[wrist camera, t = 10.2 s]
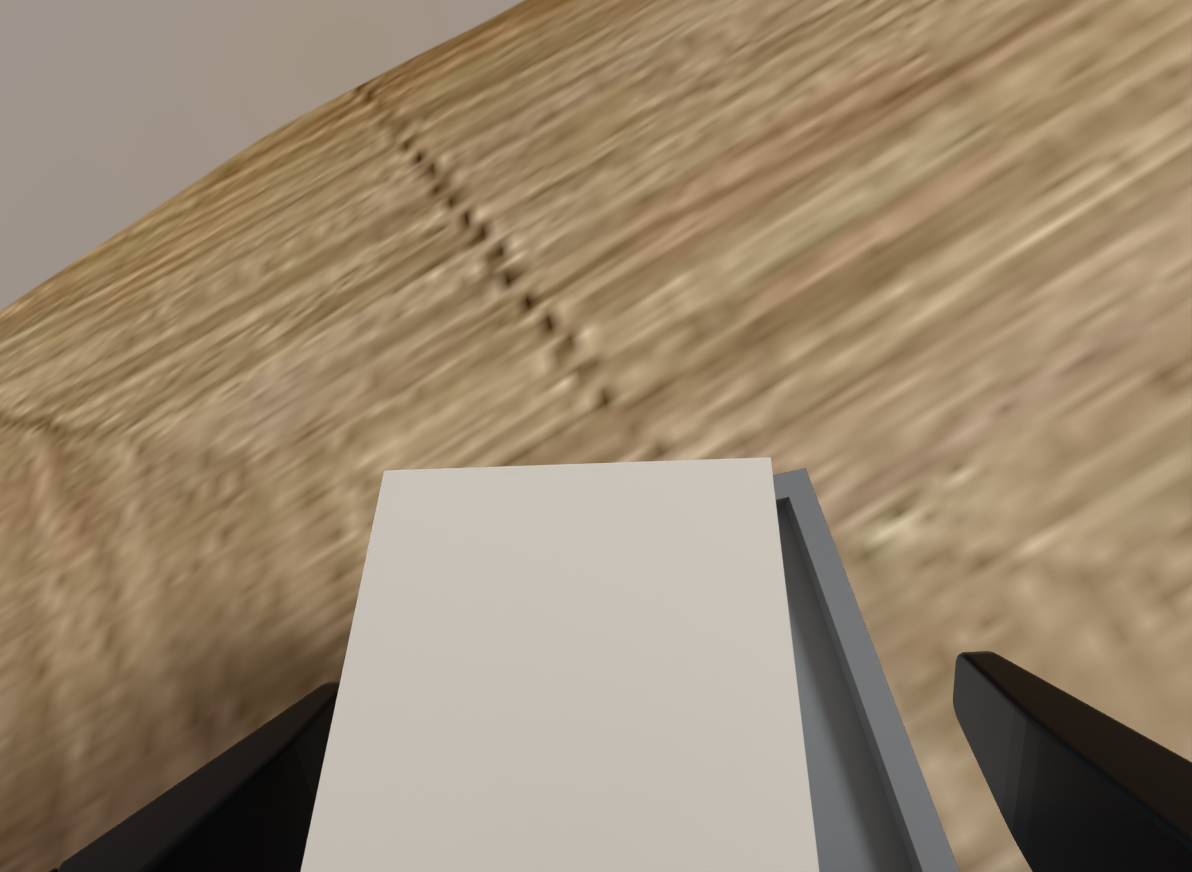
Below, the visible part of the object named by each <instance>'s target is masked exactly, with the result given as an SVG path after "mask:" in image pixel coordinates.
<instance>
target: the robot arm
mask: <svg viewBox="0 0 1192 872" xmlns="http://www.w3.org/2000/svg"><path fill="white" fill-rule="evenodd" d="M339 685H340V682H328V683H325V684H323V685H322V686H320V687H319V688H317V689H316V690H314V691H313V692H311V693H310V694H308V695H307V696H305V697H304V698H303V699H301V700H300V701H298V702H297V703H295V704H294V705H292V706H291V707H289V708H288V709H286V710H285V711H284V712H282V713H281V714H279V715H278V716H276V717H275V718H273V719H272V720H270V721H269V722H267V723H266V724H264V725H263V726H262V727H260V728H259V729H257V730H256V731H254V732H253V733H251V734H250V735H248V736H247V737H245V738H244V739H243V740H241V741H240V742H238V743H237V744H235V745H234V746H232V747H231V748H229V749H228V750H226V751H225V752H224V753H222V754H221V755H219V756H218V757H216V758H215V759H213V760H212V761H210V762H209V763H207V764H206V765H205V766H203V767H202V768H200V769H199V770H197V771H196V772H194V773H193V774H191V775H190V776H188V777H187V778H186V779H184V780H183V781H181V782H180V783H178V784H177V785H175V786H174V787H172V788H171V789H169V790H168V791H167V792H165V793H164V794H162V795H161V796H159V797H158V798H156V799H155V800H153V801H152V802H150V803H149V804H148V805H146V806H145V807H143V808H142V809H140V810H139V811H137V812H136V813H134V814H133V815H131V816H130V817H128V818H127V819H126V820H124V821H123V822H121V823H120V824H118V825H117V826H115V827H114V828H112V829H111V830H109V831H108V832H107V833H105V834H104V835H102V836H101V837H99V838H98V839H96V840H95V841H93V842H92V843H90V844H89V845H88V846H86V847H85V848H83V849H82V850H80V851H79V852H77V853H76V854H74V855H73V856H71V857H70V858H69V859H67V860H66V861H64V862H63V863H62V864H61V865H60V867H59V868H54V869H52V870H51V871H49V872H301V867H302V862H303V857H304V853H305V848H306V843H307V838H308V833H309V829H310V824H311V819H312V814H313V809H314V805H315V800H316V795H317V790H318V786H319V781H320V776H321V771H322V766H323V762H324V757H325V752H326V747H327V742H328V738H329V733H330V728H331V723H332V719H333V714H334V709H335V704H336V699H337V695H338V690H339ZM953 705H954V710H955V713H956V716H957V719H958V721H959V723H960V725H961V728H962V730H963V732H964V734H965V736H966V738H967V740H968V743H969V745H970V747H971V749H972V751H973V753H974V756H975V758H976V760H977V762H978V764H979V766H980V768H981V771H982V773H983V775H984V777H985V779H986V781H987V784H988V786H989V788H990V790H991V792H992V794H993V796H994V799H995V801H996V803H997V805H998V807H999V809H1000V812H1001V814H1002V816H1003V818H1004V820H1005V822H1006V824H1007V826H1008V828H1009V830H1010V832H1011V834H1012V836H1013V838H1014V840H1015V841H1016V843H1017V845H1018V847H1019V849H1020V850H1021V852H1022V854H1023V856H1024V857H1025V859H1026V861H1027V863H1028V864H1029V866H1030V868H1031V870H1032V871H1033V872H1192V762H1190V761H1188V760H1187V759H1185V758H1183V757H1181V756H1179V755H1178V754H1176V753H1174V752H1172V751H1170V750H1169V749H1167V748H1165V747H1163V746H1161V745H1160V744H1158V743H1156V742H1154V741H1152V740H1151V739H1149V738H1147V737H1145V736H1143V735H1142V734H1140V733H1138V732H1136V731H1134V730H1133V729H1131V728H1129V727H1127V726H1125V725H1124V724H1122V723H1120V722H1118V721H1116V720H1115V719H1113V718H1111V717H1109V716H1107V715H1106V714H1104V713H1102V712H1100V711H1098V710H1097V709H1095V708H1093V707H1091V706H1089V705H1088V704H1086V703H1084V702H1082V701H1080V700H1079V699H1077V698H1075V697H1073V696H1071V695H1070V694H1068V693H1066V692H1064V691H1062V690H1061V689H1059V688H1057V687H1055V686H1053V685H1052V684H1050V683H1048V682H1046V681H1044V680H1043V679H1041V678H1039V677H1037V676H1035V675H1034V674H1032V673H1030V672H1028V671H1026V670H1025V669H1023V668H1021V667H1019V666H1017V665H1016V664H1014V663H1012V662H1010V661H1008V660H1007V659H1005V658H1003V657H1001V656H999V655H998V654H995V653H993V652H990V651H979V652H963V653H961V654H959V655H958V657H957V659H956V666H955V679H954V692H953Z"/></svg>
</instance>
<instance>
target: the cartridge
mask: <svg viewBox="0 0 1192 872" xmlns="http://www.w3.org/2000/svg"><path fill="white" fill-rule="evenodd" d="M301 872H819V864H818V856H817V847H816V839H815V830H814V822H813V813H812V805H811V796H810V788H809V779H808V771H807V762H806V754H805V745H804V737H803V729H802V720H801V712H800V703H799V695H798V686H797V678H796V669H795V661H794V652H793V644H792V635H791V627H790V618H789V610H788V601H787V593H786V584H785V576H784V568H783V559H782V551H781V542H780V534H779V525H778V517H777V508H776V500H775V491H774V483H773V474H772V466H771V457H768V458H739V459H710V460H681V461H652V462H623V463H593V464H564V465H535V466H506V467H477V468H448V469H419V470H390V471H384V474H383V479H382V484H381V489H380V493H379V498H378V503H377V508H376V513H375V517H374V522H373V527H372V532H371V537H370V541H369V546H368V551H367V556H366V561H365V565H364V570H363V575H362V580H361V584H360V589H359V594H358V599H357V604H356V608H355V613H354V618H353V623H352V628H351V632H350V637H349V642H348V647H347V651H346V656H345V661H344V666H343V671H342V675H341V680H340V685H339V690H338V695H337V699H336V704H335V709H334V714H333V719H332V723H331V728H330V733H329V738H328V742H327V747H326V752H325V757H324V762H323V766H322V771H321V776H320V781H319V786H318V790H317V795H316V800H315V805H314V809H313V814H312V819H311V824H310V829H309V833H308V838H307V843H306V848H305V853H304V857H303V862H302V867H301Z"/></svg>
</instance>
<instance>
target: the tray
mask: <svg viewBox="0 0 1192 872" xmlns="http://www.w3.org/2000/svg"><path fill="white" fill-rule="evenodd" d="M773 483H774V491H775V500H776V508H777V517H778V525H779V534H780V542H781V551H782V559H783V568H784V576H785V584H786V593H787V601H788V610H789V618H790V627H791V635H792V644H793V652H794V661H795V669H796V678H797V686H798V695H799V703H800V712H801V720H802V729H803V737H804V745H805V754H806V762H807V771H808V779H809V788H810V796H811V805H812V813H813V822H814V830H815V839H816V847H817V856H818V864H819V872H959V869H958V867H957V864H956V861H955V859H954V856H953V853H952V851H951V848H950V846H949V843H948V840H947V838H946V835H945V832H944V830H943V827H942V825H941V822H940V819H939V817H938V814H937V812H936V809H935V806H934V804H933V801H932V798H931V796H930V793H929V791H928V788H927V785H926V783H925V780H924V777H923V775H922V772H921V770H920V767H919V764H918V762H917V759H916V756H915V754H914V751H913V749H912V746H911V743H910V741H909V738H908V735H907V733H906V730H905V728H904V725H903V722H902V720H901V717H900V714H899V712H898V709H897V707H896V704H895V701H894V699H893V696H892V693H891V691H890V688H889V686H888V683H887V680H886V678H885V675H884V672H883V670H882V667H881V665H880V662H879V659H878V657H877V654H876V652H875V649H874V646H873V644H872V641H871V638H870V636H869V633H868V631H867V628H866V625H865V623H864V620H863V617H862V615H861V612H860V610H859V607H858V604H857V602H856V599H855V596H854V594H853V591H852V589H851V586H850V583H849V581H848V578H847V575H846V573H845V570H844V568H843V565H842V562H841V560H840V557H839V554H838V552H837V549H836V547H835V544H834V541H833V539H832V536H831V533H830V531H829V528H828V526H827V523H826V520H825V518H824V515H823V512H822V510H821V507H820V505H819V502H818V499H817V497H816V494H815V492H814V489H813V486H812V484H811V481H810V478H809V476H808V473H807V471H806V468H804V469H800V470H795V471H790V472H786V473H781V474H777V475H773Z"/></svg>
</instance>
